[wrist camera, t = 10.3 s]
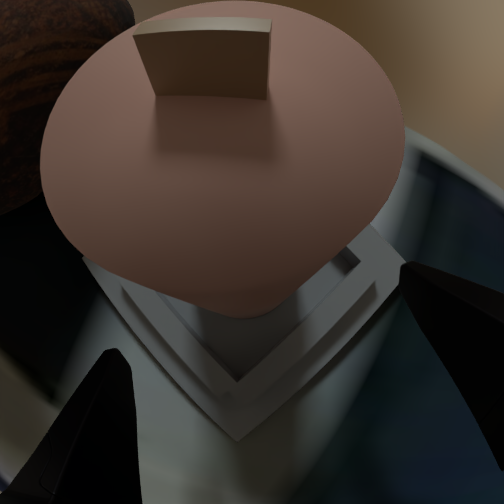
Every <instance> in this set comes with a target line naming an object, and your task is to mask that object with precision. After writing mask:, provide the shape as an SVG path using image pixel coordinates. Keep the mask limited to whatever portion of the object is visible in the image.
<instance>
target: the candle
mask: <svg viewBox="0 0 504 504" xmlns="http://www.w3.org/2000/svg"><path fill="white" fill-rule="evenodd" d="M404 145H405V130H404V119H403V115H402V111H401V107H400V103H399V100H398V98H397V95H396V93H395V91H394V89H393V86H392V84H391V82H390V81H389V79H388V77H387V76H386V74H385V73H384V71H383V69H382V68H381V67H380V66H379V64H378V63H377V62H376V61H375V59H374V58H373V57H372V56H371V55H370V54H369V53H368V52H367V51H366V50H365V49H364V48H363V47H362V46H361V45H360V44H359V43H357V42H356V41H355V40H354V39H352V38H351V37H350V36H348V35H347V34H346V33H344V32H343V31H341V30H339V29H338V28H336V27H334V26H333V25H331V24H329V23H327V22H325V21H323V20H321V19H319V18H317V17H314V16H312V15H309V14H307V13H304V12H301V11H299V10H295V9H292V8H288V7H284V6H280V5H274V4H269V3H262V2H252V1H218V2H208V3H201V4H196V5H191V6H186V7H182V8H178V9H174V10H171V11H168V12H165V13H162V14H160V15H157V16H154V17H152V18H149V19H147V20H145V21H143V22H141V23H139V24H137V25H135V26H133V27H131V28H129V29H128V30H126V31H124V32H122V33H121V34H119V35H118V36H116V37H115V38H113V39H112V40H111V41H109V42H108V43H106V44H105V45H104V46H103V47H101V48H100V49H99V50H98V51H97V52H95V53H94V54H93V55H92V56H91V57H90V58H89V59H88V60H87V61H86V62H85V63H84V64H83V65H82V66H81V67H80V68H79V69H78V71H77V72H76V73H75V74H74V76H73V77H72V78H71V79H70V81H69V82H68V83H67V85H66V86H65V88H64V89H63V91H62V93H61V94H60V96H59V97H58V99H57V101H56V103H55V105H54V107H53V110H52V112H51V114H50V116H49V119H48V122H47V125H46V128H45V131H44V136H43V141H42V146H41V157H40V173H41V182H42V188H43V192H44V196H45V199H46V202H47V206H48V208H49V210H50V212H51V214H52V216H53V218H54V220H55V222H56V224H57V225H58V227H59V228H60V230H61V231H62V232H63V234H64V235H65V236H66V238H67V239H68V240H69V242H70V243H72V244H73V245H74V246H75V247H76V248H77V249H78V250H79V251H80V252H81V253H82V254H83V255H84V256H85V257H87V258H88V259H90V260H91V261H93V262H94V263H96V264H97V265H99V266H100V267H102V268H103V269H105V270H107V271H108V272H111V273H113V274H115V275H118V276H120V277H122V278H124V279H127V280H129V281H132V282H134V283H136V284H139V285H142V286H144V287H147V288H149V289H152V290H155V291H157V292H160V293H163V294H165V295H168V296H171V297H173V298H176V299H179V300H182V301H184V302H187V303H190V304H193V305H196V306H198V307H201V308H204V309H207V310H210V311H213V312H216V313H219V314H222V315H225V316H228V317H232V318H238V319H249V318H255V317H259V316H262V315H264V314H266V313H268V312H270V311H272V310H273V309H275V308H276V307H277V306H278V305H280V304H281V303H282V302H283V301H284V300H285V299H287V298H288V297H289V296H290V295H291V294H292V293H294V292H295V291H296V290H297V289H298V288H299V287H301V286H302V285H303V284H304V283H305V282H306V281H308V280H309V279H310V278H311V277H312V276H313V275H314V274H316V273H317V272H318V271H319V270H320V269H321V268H322V267H323V266H325V265H326V264H327V263H328V262H329V261H330V260H331V259H332V258H334V257H335V256H336V255H337V254H338V253H339V252H340V251H341V250H342V249H343V248H345V247H346V246H347V245H348V244H349V243H350V242H351V241H352V240H353V239H354V238H355V237H356V236H357V235H358V234H359V233H360V232H361V231H362V230H363V229H364V228H365V227H366V226H367V225H368V224H369V223H370V222H371V221H372V220H373V219H374V218H375V216H376V215H377V214H378V212H379V211H380V209H381V208H382V207H383V205H384V204H385V202H386V201H387V200H388V197H389V195H390V193H391V191H392V189H393V187H394V185H395V183H396V181H397V179H398V175H399V172H400V168H401V165H402V161H403V156H404Z"/></svg>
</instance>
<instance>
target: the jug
mask: <svg viewBox="0 0 504 504" xmlns="http://www.w3.org/2000/svg"><path fill="white" fill-rule="evenodd" d="M133 26H135V19H134V13H133V10H132V8H131V6H130V4H129V2H128V1H127V0H0V216H1V215H3V214H5V213H7V212H9V211H11V210H14V209H16V208H18V207H20V206H22V205H24V204H25V203H27V202H29V201H30V200H32V199H33V198H35V197H37V196H38V195H39V194H40V193H41V192H42V191H43V188H42V182H41V173H40V157H41V146H42V141H43V136H44V131H45V128H46V125H47V122H48V119H49V116H50V114H51V112H52V110H53V107H54V105H55V103H56V101H57V99H58V97H59V96H60V94H61V93H62V91H63V89H64V88H65V86H66V85H67V83H68V82H69V81H70V79H71V78H72V77H73V76H74V74H75V73H76V72H77V71H78V69H79V68H80V67H81V66H82V65H83V64H84V63H85V62H86V61H87V60H88V59H89V58H90V57H91V56H92V55H93V54H94V53H95V52H97V51H98V50H99V49H100V48H101V47H103V46H104V45H105V44H106V43H108V42H109V41H111V40H112V39H113V38H115V37H116V36H118V35H119V34H121V33H122V32H124V31H126V30H128V29H129V28H131V27H133Z"/></svg>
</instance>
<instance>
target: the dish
mask: <svg viewBox="0 0 504 504" xmlns="http://www.w3.org/2000/svg"><path fill="white" fill-rule="evenodd" d="M82 259H83V261H84V262H85V264H86V265H87V267H88V268H89V270H90V271H91V273H92V274H93V276H94V277H95V279H96V280H97V282H98V283H99V285H100V286H101V288H102V289H103V291H104V292H105V293H106V295H107V296H108V298H109V299H110V300H111V302H112V303H113V305H114V306H115V307H116V309H117V310H118V311H119V313H120V314H121V315H122V317H123V318H124V319H125V321H126V322H127V323H128V325H129V326H130V327H131V328H132V330H133V331H134V332H135V334H136V335H137V336H138V337H139V339H140V340H141V341H142V342H143V344H144V345H145V346H146V347H147V348H148V350H149V351H150V352H151V353H152V354H153V356H154V357H155V358H156V359H157V360H158V362H159V363H160V364H161V365H162V366H163V367H164V368H165V370H166V371H167V372H168V373H169V374H170V375H171V376H172V378H173V379H174V380H175V381H176V382H177V383H178V384H179V385H180V386H181V387H182V388H183V390H184V391H185V392H186V393H187V394H188V395H189V396H190V397H191V398H192V399H193V400H194V401H195V402H196V403H197V404H198V405H199V406H200V407H201V408H202V409H203V410H204V411H205V412H206V413H207V414H208V415H209V416H210V417H211V418H212V419H213V420H214V421H215V422H216V423H217V424H218V425H219V426H220V427H221V428H222V429H223V430H224V431H225V432H226V433H227V434H228V435H229V436H230V437H232V438H233V439H234V440H235V441H236V442H238V441H239V440H241V439H242V438H243V437H244V436H246V435H247V434H248V433H249V432H251V431H252V430H253V429H254V428H256V427H257V426H258V425H259V424H260V423H262V422H263V421H264V420H265V419H266V418H268V417H269V416H270V415H271V414H272V413H274V412H275V411H276V410H277V409H278V408H279V407H280V406H282V405H283V404H284V403H285V402H286V401H287V400H288V399H289V398H291V397H292V396H293V395H294V394H295V393H296V392H297V391H298V390H299V389H300V388H302V387H303V386H304V385H305V384H306V383H307V382H308V381H309V380H310V379H311V378H312V377H313V376H314V375H315V374H316V373H317V372H318V371H319V370H320V369H321V368H322V367H323V366H325V365H326V364H327V363H328V362H329V361H330V360H331V359H332V357H333V356H334V355H335V354H336V353H337V352H338V351H339V350H340V349H341V348H342V347H343V346H344V345H345V344H346V343H347V342H348V341H349V340H350V339H351V338H352V337H353V336H354V335H355V333H356V332H357V331H358V330H359V329H360V328H361V327H362V326H363V325H364V324H365V322H366V321H367V320H368V319H369V318H370V317H371V316H372V315H373V313H374V312H375V311H376V310H377V309H378V308H379V307H380V305H381V304H382V303H383V302H384V301H385V299H386V298H387V297H388V296H389V295H390V293H391V292H392V291H393V290H394V289H395V287H396V286H397V285H398V284H399V274H400V266H401V265H402V264H403V263H406V262H405V261H404V259H403V258H402V257H401V256H400V255H399V254H398V253H397V252H396V251H395V250H394V249H393V247H392V246H391V245H390V244H389V243H388V242H387V241H386V240H385V239H384V238H383V237H382V236H381V235H380V234H379V233H378V232H377V231H376V230H375V229H374V228H373V227H372V226H371V224H370V223H369V224H368V225H367V226H366V227H365V228H364V229H363V230H362V231H361V232H360V233H359V234H358V235H357V236H356V237H355V238H354V239H353V240H352V241H351V242H350V243H349V244H348V245H347V246H346V247H345V248H343V249H342V250H341V251H340V252H339V253H338V254H337V255H336V256H335V257H334V258H332V259H331V260H330V261H329V262H328V263H327V264H326V265H325V266H323V267H322V268H321V269H320V270H319V271H318V272H317V273H316V274H314V275H313V276H312V277H311V278H310V279H309V280H308V281H306V282H305V283H304V284H303V285H302V286H301V287H299V288H298V289H297V290H296V291H295V292H294V293H292V294H291V295H290V296H289V297H288V298H287V299H285V300H284V301H283V302H282V303H281V304H280V305H278V306H277V307H276V308H275V309H273V310H272V311H270V312H268V313H266V314H264V315H262V316H259V317H255V318H249V319H238V318H232V317H228V316H225V315H222V314H219V313H216V312H213V311H210V310H207V309H204V308H201V307H198V306H196V305H193V304H190V303H187V302H184V301H182V300H179V299H176V298H173V297H171V296H168V295H165V294H163V293H160V292H157V291H155V290H152V289H149V288H147V287H144V286H142V285H139V284H136V283H134V282H132V281H129V280H127V279H124V278H122V277H120V276H118V275H115V274H113V273H111V272H108V271H107V270H105V269H103V268H102V267H100V266H99V265H97V264H96V263H94V262H93V261H91V260H90V259H88V258H87V257H85V256H83V257H82Z"/></svg>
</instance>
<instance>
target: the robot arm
mask: <svg viewBox="0 0 504 504" xmlns="http://www.w3.org/2000/svg"><path fill="white" fill-rule="evenodd" d="M399 290H400V292H401V294H402V296H403V298H404V300H405V301H406V303H407V305H408V307H409V309H410V310H411V312H412V314H413V316H414V318H415V320H416V322H417V323H418V325H419V327H420V329H421V330H422V332H423V333H424V335H425V336H426V338H427V339H428V341H429V342H430V344H431V346H432V347H433V349H434V350H435V352H436V353H437V355H438V356H439V358H440V360H441V361H442V363H443V364H444V366H445V368H446V369H447V371H448V372H449V374H450V376H451V377H452V379H453V381H454V382H455V384H456V386H457V387H458V389H459V391H460V393H461V394H462V396H463V398H464V400H465V401H466V403H467V405H468V407H469V408H470V410H471V412H472V414H473V416H474V417H475V419H476V421H477V423H478V424H479V427H480V429H481V431H482V433H483V435H484V437H485V439H486V441H487V443H488V445H489V447H490V449H491V451H492V453H493V455H494V457H495V459H496V461H497V463H498V465H499V468H500V469H501V471H504V294H503V293H501V292H499V291H496V290H493V289H491V288H488V287H485V286H483V285H480V284H477V283H475V282H472V281H469V280H467V279H464V278H461V277H458V276H456V275H453V274H450V273H447V272H444V271H442V270H439V269H436V268H433V267H430V266H427V265H424V264H421V263H419V262H416V261H408V262H406V263H403V264H402V265H401V266H400V274H399ZM0 504H142V495H141V486H140V474H139V461H138V444H137V417H136V406H135V398H134V389H133V380H132V370H131V367H130V365H129V363H128V362H127V360H126V359H125V358H124V356H123V355H122V354H121V352H120V351H119V350H118V349H117V348H112V349H107V350H105V351H104V352H103V353H102V354H101V356H100V357H99V358H98V360H97V361H96V363H95V364H94V365H93V367H92V368H91V369H90V371H89V372H88V374H87V375H86V376H85V378H84V379H83V381H82V382H81V383H80V385H79V386H78V388H77V389H76V391H75V392H74V393H73V395H72V396H71V398H70V399H69V401H68V402H67V403H66V405H65V406H64V408H63V409H62V411H61V412H60V414H59V415H58V417H57V418H56V420H55V421H54V423H53V424H52V426H51V427H50V429H49V430H48V433H46V435H45V436H44V438H43V439H42V441H41V442H40V444H39V445H38V447H37V448H36V450H35V451H34V453H33V454H32V455H31V457H30V458H29V460H28V461H27V462H26V464H25V465H24V466H23V468H22V469H21V470H20V472H19V473H18V474H17V476H16V477H15V478H14V480H13V481H12V482H11V484H10V485H9V486H8V488H7V489H6V490H5V491H3V492H2V493H1V494H0Z"/></svg>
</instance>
